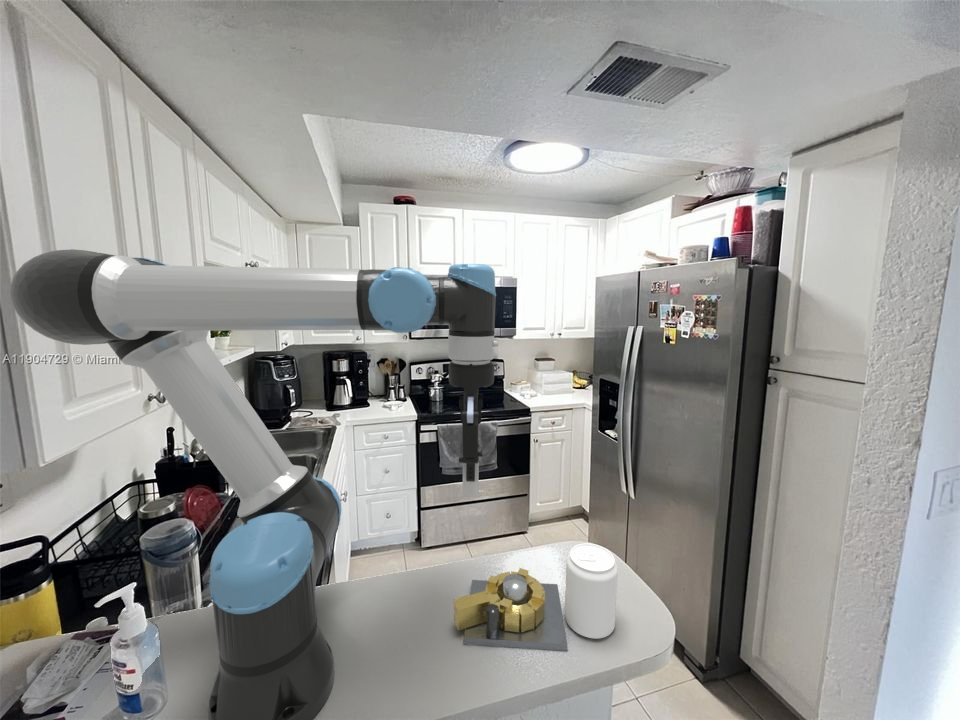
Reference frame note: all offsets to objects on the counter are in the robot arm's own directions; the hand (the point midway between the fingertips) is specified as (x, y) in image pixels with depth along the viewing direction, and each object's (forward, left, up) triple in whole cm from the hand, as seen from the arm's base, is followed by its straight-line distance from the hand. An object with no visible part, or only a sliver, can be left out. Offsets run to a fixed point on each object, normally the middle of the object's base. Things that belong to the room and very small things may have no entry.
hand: (470, 495), depth 68 cm
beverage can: (+20, -3, -20) cm, 29 cm away
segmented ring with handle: (+5, -4, -19) cm, 20 cm away
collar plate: (+8, -3, -20) cm, 22 cm away
